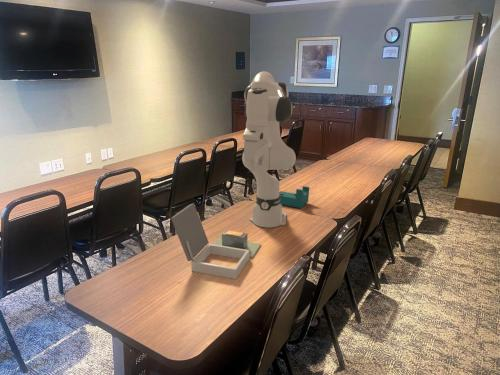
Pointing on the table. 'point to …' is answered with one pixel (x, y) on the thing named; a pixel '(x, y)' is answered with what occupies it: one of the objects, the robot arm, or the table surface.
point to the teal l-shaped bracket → (295, 197)
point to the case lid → (190, 230)
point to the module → (234, 239)
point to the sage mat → (250, 246)
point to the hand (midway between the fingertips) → (257, 167)
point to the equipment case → (217, 269)
